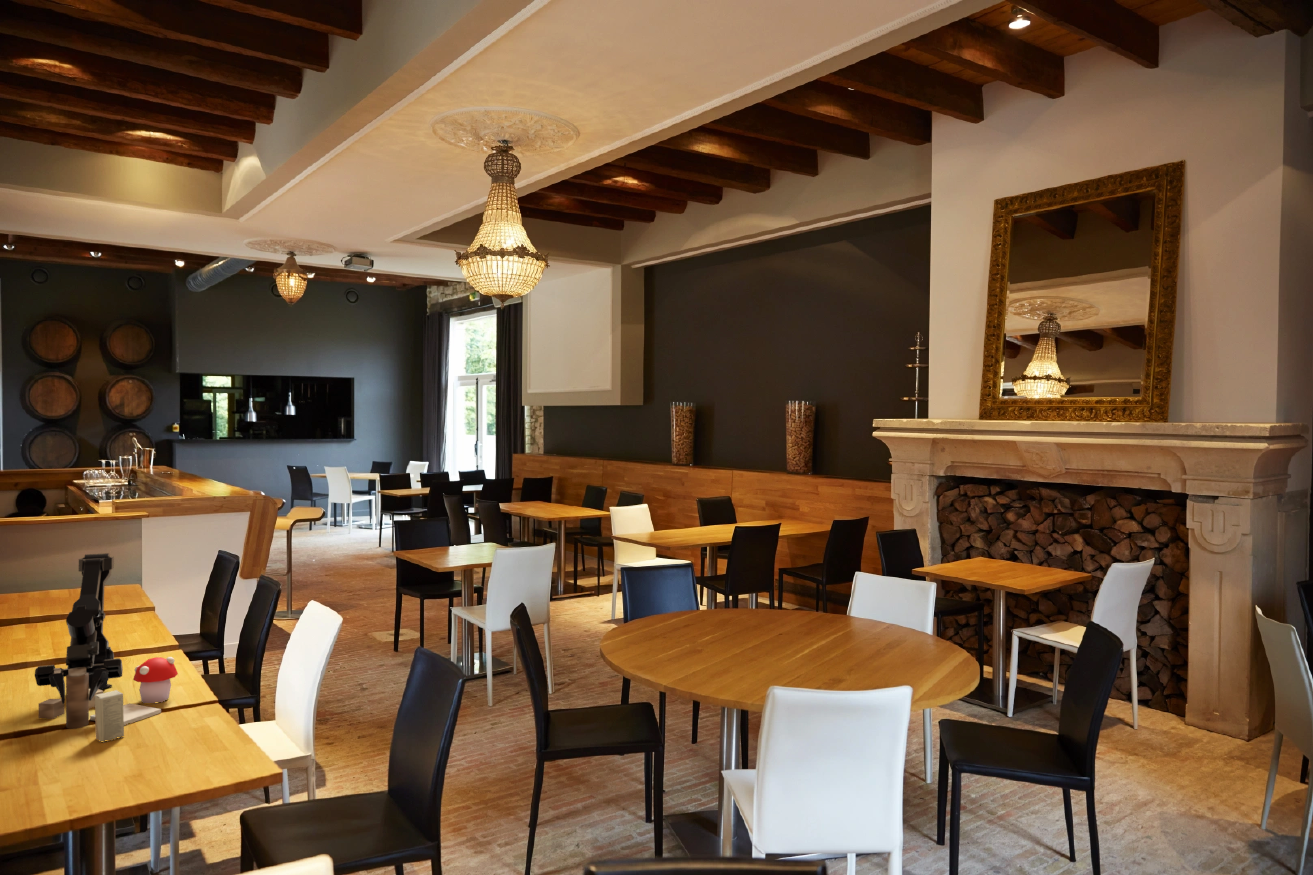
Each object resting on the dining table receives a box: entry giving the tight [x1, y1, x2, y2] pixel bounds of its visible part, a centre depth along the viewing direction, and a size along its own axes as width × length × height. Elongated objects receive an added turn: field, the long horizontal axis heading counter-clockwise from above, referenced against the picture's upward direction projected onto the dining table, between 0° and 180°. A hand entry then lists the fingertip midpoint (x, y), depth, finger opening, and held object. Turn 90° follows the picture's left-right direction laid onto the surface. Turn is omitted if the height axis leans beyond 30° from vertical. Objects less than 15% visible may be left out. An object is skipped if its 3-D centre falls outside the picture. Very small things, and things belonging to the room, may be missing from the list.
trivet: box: [89, 702, 162, 726], centre depth 227 cm, size 12×11×1 cm
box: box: [94, 689, 125, 742], centre depth 211 cm, size 5×4×11 cm
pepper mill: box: [65, 667, 90, 730], centre depth 220 cm, size 5×5×14 cm
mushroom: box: [132, 656, 179, 704], centre depth 240 cm, size 11×11×12 cm
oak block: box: [89, 689, 104, 709], centre depth 235 cm, size 5×4×4 cm
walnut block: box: [38, 698, 65, 720], centre depth 227 cm, size 4×4×4 cm
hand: (76, 701), depth 219 cm, fingers open, 5 cm apart
